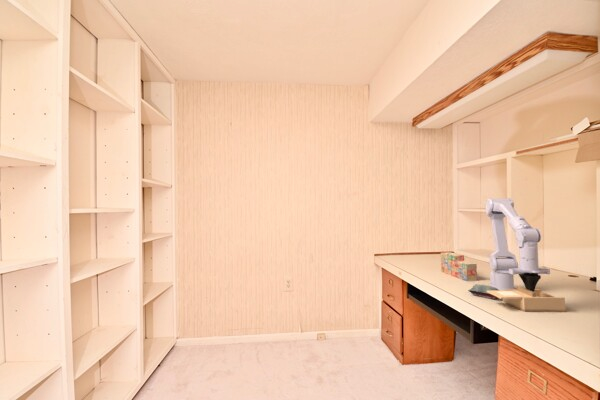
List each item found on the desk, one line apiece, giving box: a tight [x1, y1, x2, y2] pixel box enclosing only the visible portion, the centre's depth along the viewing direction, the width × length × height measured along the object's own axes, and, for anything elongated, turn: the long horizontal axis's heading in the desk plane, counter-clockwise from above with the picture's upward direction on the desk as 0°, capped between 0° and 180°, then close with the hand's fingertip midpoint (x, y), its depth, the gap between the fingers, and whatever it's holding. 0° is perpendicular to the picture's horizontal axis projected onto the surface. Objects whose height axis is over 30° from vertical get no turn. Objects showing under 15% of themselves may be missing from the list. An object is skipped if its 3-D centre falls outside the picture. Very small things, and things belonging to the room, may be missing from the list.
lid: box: [487, 286, 539, 300], centre depth 107 cm, size 8×15×2 cm, turn 87°
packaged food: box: [467, 283, 498, 300], centre depth 120 cm, size 9×12×5 cm
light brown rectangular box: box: [503, 288, 566, 313], centre depth 107 cm, size 11×15×5 cm
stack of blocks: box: [440, 251, 478, 282], centre depth 154 cm, size 21×6×12 cm, turn 7°
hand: (530, 292), depth 107 cm, fingers closed
